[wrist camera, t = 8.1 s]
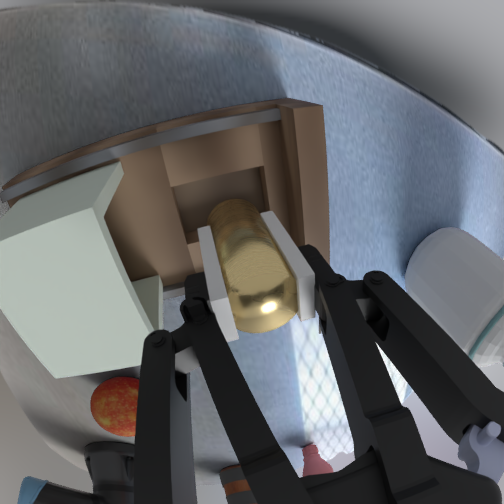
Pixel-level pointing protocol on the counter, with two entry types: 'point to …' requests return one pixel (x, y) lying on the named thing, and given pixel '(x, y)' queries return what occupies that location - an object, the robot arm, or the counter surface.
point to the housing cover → (74, 279)
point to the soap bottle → (461, 291)
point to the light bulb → (314, 462)
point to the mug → (236, 486)
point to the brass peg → (252, 268)
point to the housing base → (202, 181)
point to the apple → (116, 405)
